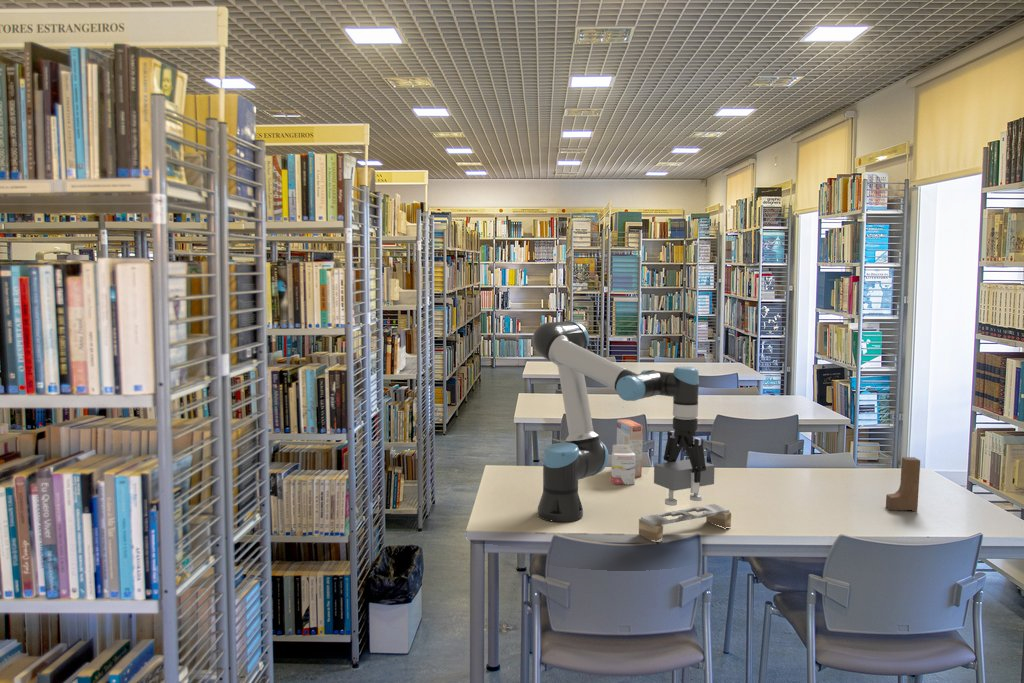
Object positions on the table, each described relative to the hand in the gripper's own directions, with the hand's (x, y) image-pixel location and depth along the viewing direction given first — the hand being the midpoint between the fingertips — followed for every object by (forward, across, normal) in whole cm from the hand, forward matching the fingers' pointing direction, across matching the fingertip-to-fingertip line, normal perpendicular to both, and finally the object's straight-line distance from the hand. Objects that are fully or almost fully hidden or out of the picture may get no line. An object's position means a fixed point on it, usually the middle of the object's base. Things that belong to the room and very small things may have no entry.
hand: (683, 488), depth 233 cm
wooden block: (+15, -16, -84) cm, 87 cm away
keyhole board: (+14, 0, -1) cm, 14 cm away
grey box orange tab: (+4, 0, 0) cm, 4 cm away
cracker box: (+14, +64, -27) cm, 71 cm away
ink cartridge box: (+14, +53, -16) cm, 57 cm away
